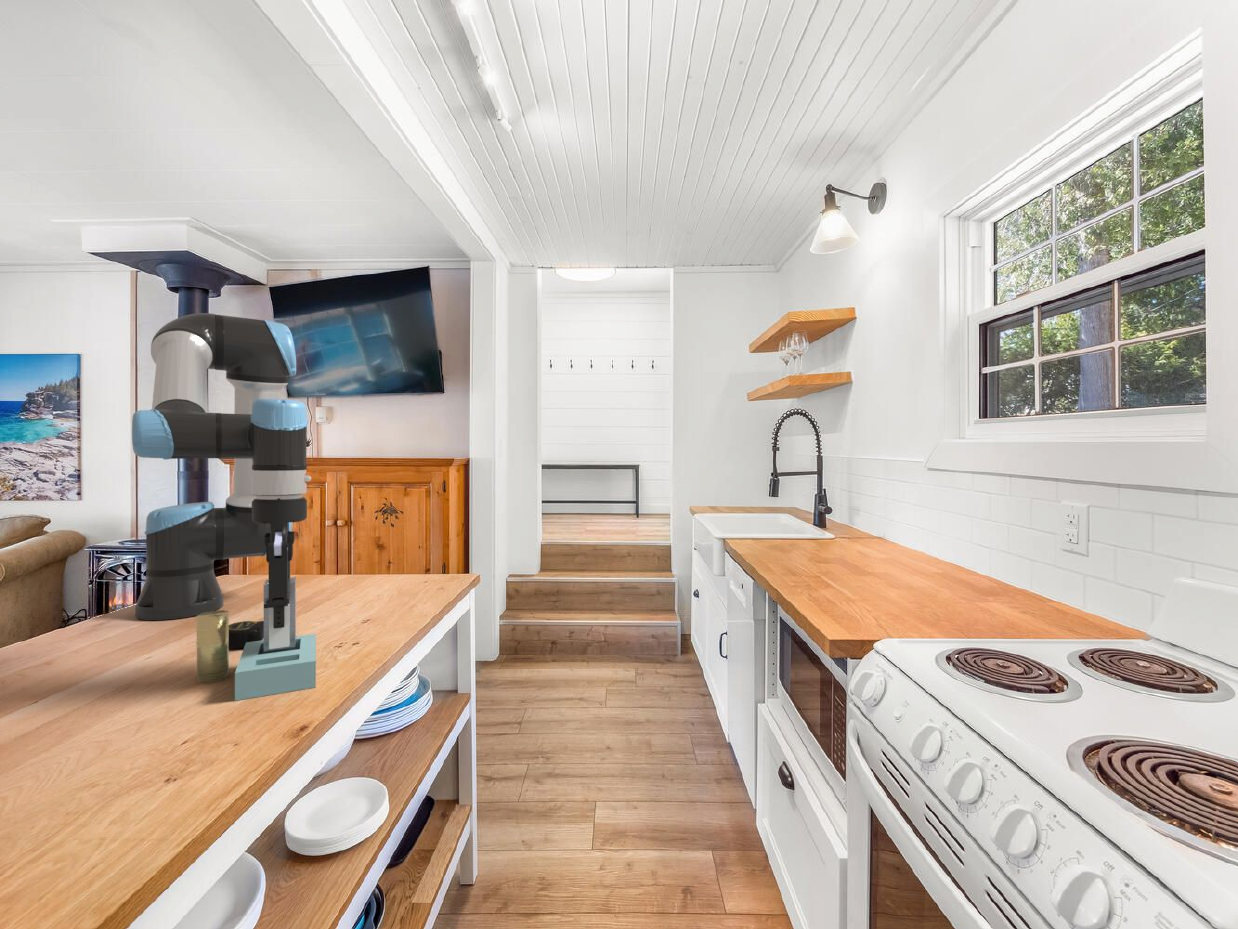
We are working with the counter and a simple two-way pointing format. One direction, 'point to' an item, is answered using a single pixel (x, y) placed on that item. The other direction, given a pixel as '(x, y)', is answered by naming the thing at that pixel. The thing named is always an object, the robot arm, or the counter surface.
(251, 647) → the socket block
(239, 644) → the tape measure
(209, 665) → the round bit
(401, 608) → the counter surface
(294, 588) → the square bit
